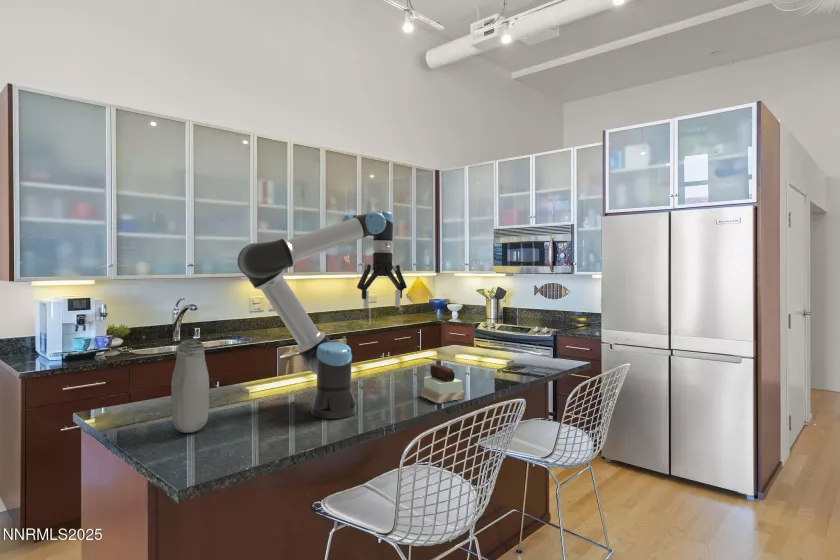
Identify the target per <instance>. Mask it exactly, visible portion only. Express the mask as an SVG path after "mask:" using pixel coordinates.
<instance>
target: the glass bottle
mask: <svg viewBox="0 0 840 560" xmlns="http://www.w3.org/2000/svg"><path fill="white" fill-rule="evenodd" d="M170 383H171V386H170V387H171V391H170V392H171V393H170V394H171V417H172V422H173V425H174V427H175V429H176V430H177V431H179V432H181V433H183V434H192V433H196V432H198V431H200V430H201V429H203V427H204V426H206V423H207V421H208V418H209V413H210V412H209V411H210V407H209V406H210V404H209V403H210V400H209V399H210V376H209V370H208V366H207V362H206V357H205V347H204V344H203V342H201V340H199V339H197V338H188V339H185V340H183V341H181V342H180V343H179V345H178V347H177V350H176V359H175V365H174V368H173V372H172V377H171V382H170Z"/></svg>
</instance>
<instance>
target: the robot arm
mask: <svg viewBox="0 0 840 560" xmlns="http://www.w3.org/2000/svg"><path fill="white" fill-rule="evenodd" d="M393 215H394V214H393V213H392V212H391V211H387V210H386V211H382V210H380V211H379V210H377V211H371V212H368V213H363V214H347V215H344V216H343V219H342V221H341V222H339V223H334V224H332V225H330V226H326V227H322V228H320V229H317V230H313V231H311V232H308V233H305V234H303V235H302V234H301V235H299V236H296V237H293V238H290V239H285V238H280V239H277V240H272V241H267V242H266V241H265V242H258V243H257V242H254V243H252V242H251V243H249V244H248V245H245V246H244V247H243V248H242V249H241V250H240V251H239V254H238V255H237V267H238V268H239V270H240V272H241V273H242V274H243V275H245V276H246V277H247V279H248V280H249V282H250V283H251V285H252V286H253V288H254V289H257V290H260V291H261V292H262V293H263V294H264V297H266V299H267V300H268V302H269V303H270V305H271V307H272V308H273V309H274V311H275V312H276V314H277V315H278V317H279V318H280V319H281V321H282V322H283V324H284V325H285V327H286V328H287V330H288V331H289V333H290V335H291V336H292V337H293V339H294V341H295V342H296V343H297V350H296V351H297V353H298V354H299V356H300V357H301V359H302V361H303V362H302V363H304V366H305V367H306V369H307V370H309V371H310V372H311V373H313V374H315V375H316V393H315V395H314V399H313V401H312V404H311V410H310V411H311V415H312V416H313V417H315V418H318V419H319V418H320V419H326V420H327V419H328V420H330V419H331V420H333V419H334V420H335V419H344V418H348V417H352V416H354V415H355V414H356V413H357V405H356V402H355V397H354V395H353V392H352V359H353V355H352V349H351V347H350V346H349V345H347V344H346V343H343V342H342V343H341V342H338V341H337V342H336V341H335V342H334V341H331V340H330V338H329V337H328V336H327V334H326V332H325V331H319V330H318V328H317V326H316V325H315V323H314V321H313V320H312V318H311V317H310V315H309V314H308V313H307V311H306V310H305V308H304V306H303V305H302V304H301V302H300V300H299V299H298V297H297V296H296V294H295V292H294V291H293V290H292V288H291V286H290V285H289V284H288V282H287V281H286V279H285V277H284V272H285V270H287V269H289V268H292V267H294V265H296V264H295V263H297V262H298V261H299V262H300V261H303V260H304V259H307V258H311V257H312V256H316V255H318V254H321V253H324V252H327V251H330V250H333V249H336V248H338V247H341V246H344V245H347V244H349V243H352V242H354V241H357V240H360V239H362V238H363V239H364V238H366V237H372V250H373V253H372V264H369V263H368V264H367V263H366V264H365V265H364V271H363V273H362V275H361V277H360V278H359V282H358V283H357V285H356V289H357V290H358V289H359V290H360V291H361V299H363V308H365V309H369V299H370V298H369V294H370V293H369V290H368V288H369V287H370V286H371V285H372V284H373V282H374V281H375V279H376V278H378V277H387V278H388V279H389V280H390V281H391V282H392V284H393V285H394V287H395V288H396V289H395V290H394V291H395V293H394V294H395V295H394V296H395V297H394V299H395V300H394V306H395V308H401V299H402V298H403V291H404V290H405V289H407V287H408V286H407V283H406V282H405V279H404V276H403V275H402V271H401V266H400V264H393V258H394V257H393V253H392V252H393V250H394V249H393V248H394V245H393V244H394V241H393V240H394V239H393V238H394V236H393V235H394V216H393ZM372 270H373V272H372V273H371V275H370V276H369V274H370V272H371V271H372ZM393 271H394V273H393ZM394 274H395V275H396V277H395V275H394ZM368 277H369V278H368Z"/></svg>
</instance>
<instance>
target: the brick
mask: <svg viewBox="0 0 840 560" xmlns="http://www.w3.org/2000/svg"><path fill="white" fill-rule="evenodd" d="M429 372H430V376H432V377H434V378H436V379H439V380H442V381H446V382H448V381H453V380H454V379H455V378H456V377H455V375H456V374H455V372H454V369H453V368H452V367H447V366H444V365H442V364H432V365H430V371H429Z"/></svg>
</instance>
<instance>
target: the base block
mask: <svg viewBox="0 0 840 560" xmlns="http://www.w3.org/2000/svg"><path fill="white" fill-rule="evenodd" d="M420 390H421V391H420V392H421V393H420V394H421V395H420V396H421V397H422V398H424V399H426V398H427V400H428V401H429V400H430V401H431V402H433V403H436V404H438V403H439V404H443V403H442V402H445V403H447V402H446V401H452V400H457V399H464V400H465V395H466V393H465V392H466V391H465V390H463V389H462V392H455V393H447V394H437V393H435V392H433V391H431V390H429V389H427V388H425V387H424V386H423V387H421V389H420ZM452 402H453V401H452Z"/></svg>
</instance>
